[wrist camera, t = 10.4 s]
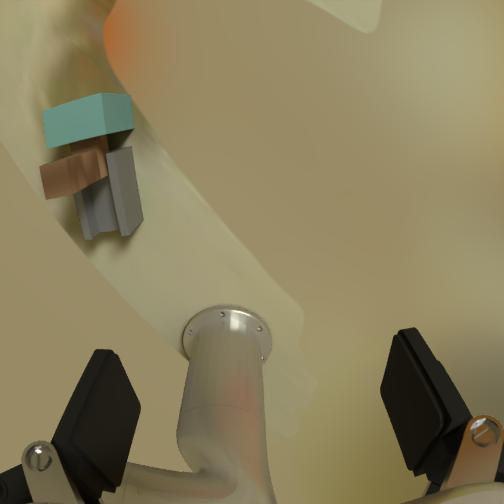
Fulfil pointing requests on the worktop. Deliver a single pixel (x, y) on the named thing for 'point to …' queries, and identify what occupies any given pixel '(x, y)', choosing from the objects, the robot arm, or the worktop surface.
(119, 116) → the teal rectangular block
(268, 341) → the robot arm
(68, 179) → the rod
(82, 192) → the guide channel
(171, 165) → the worktop surface
